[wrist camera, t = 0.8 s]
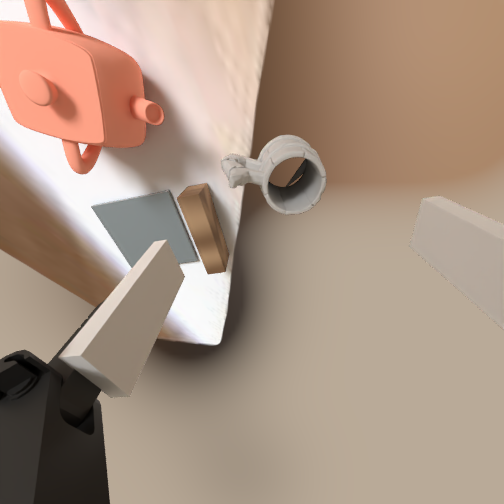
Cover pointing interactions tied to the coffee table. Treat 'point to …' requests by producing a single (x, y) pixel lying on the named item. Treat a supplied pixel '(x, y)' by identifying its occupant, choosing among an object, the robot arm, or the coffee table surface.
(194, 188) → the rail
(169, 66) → the coffee table surface
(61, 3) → the teapot
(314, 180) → the mug
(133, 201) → the plate
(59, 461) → the robot arm
